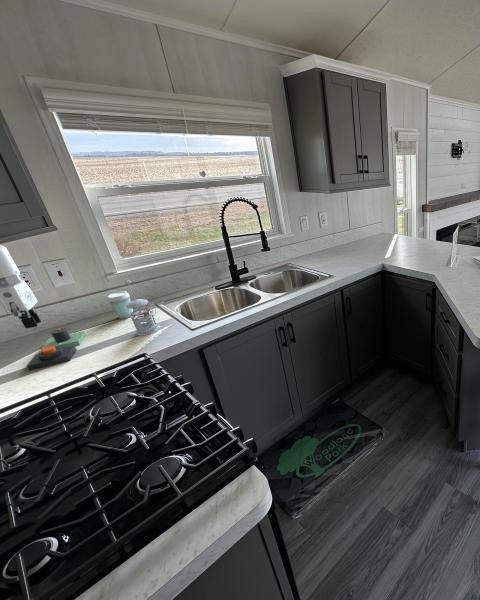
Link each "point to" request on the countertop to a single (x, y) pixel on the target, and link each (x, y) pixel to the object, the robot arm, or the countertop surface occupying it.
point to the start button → (48, 350)
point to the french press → (144, 327)
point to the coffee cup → (120, 304)
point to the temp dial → (60, 335)
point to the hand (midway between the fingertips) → (33, 324)
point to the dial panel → (73, 341)
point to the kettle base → (52, 358)
